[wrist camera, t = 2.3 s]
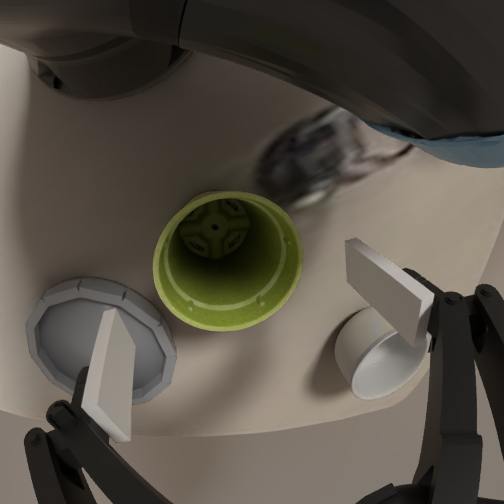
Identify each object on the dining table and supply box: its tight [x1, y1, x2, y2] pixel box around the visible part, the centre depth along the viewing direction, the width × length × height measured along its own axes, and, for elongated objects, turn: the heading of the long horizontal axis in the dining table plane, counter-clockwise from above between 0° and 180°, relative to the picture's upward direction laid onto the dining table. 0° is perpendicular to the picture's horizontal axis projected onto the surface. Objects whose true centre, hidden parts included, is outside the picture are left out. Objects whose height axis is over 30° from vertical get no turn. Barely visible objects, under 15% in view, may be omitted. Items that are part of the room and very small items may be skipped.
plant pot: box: [153, 191, 303, 332], centre depth 22 cm, size 9×9×9 cm
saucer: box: [26, 277, 177, 405], centre depth 27 cm, size 16×16×2 cm
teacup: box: [335, 306, 431, 400], centre depth 32 cm, size 14×11×8 cm
